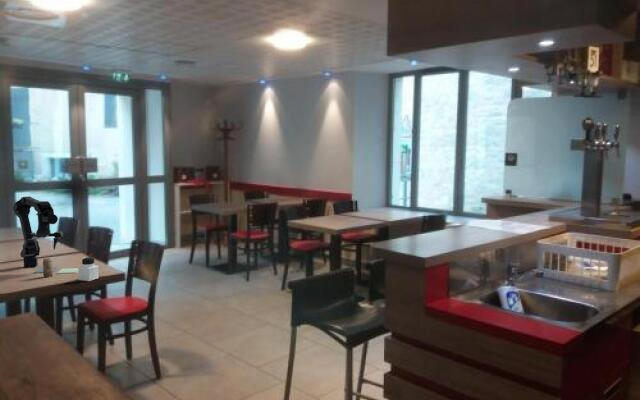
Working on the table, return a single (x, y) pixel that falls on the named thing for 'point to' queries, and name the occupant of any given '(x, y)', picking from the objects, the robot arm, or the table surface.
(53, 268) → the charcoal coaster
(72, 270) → the sage coaster
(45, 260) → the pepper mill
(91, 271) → the medicine bottle
